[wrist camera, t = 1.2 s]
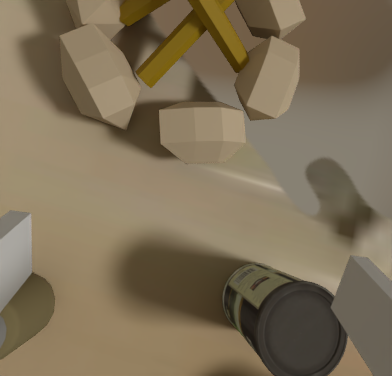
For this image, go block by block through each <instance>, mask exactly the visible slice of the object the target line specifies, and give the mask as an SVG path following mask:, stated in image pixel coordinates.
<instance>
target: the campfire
mask: <svg viewBox="0 0 392 376" xmlns="http://www.w3.org/2000/svg"><path fill="white" fill-rule="evenodd" d="M65 1H66V3H67V6H68V9H69V11H70V14H71V17H72V19H73V22H74V24H75V27H76V29H75V30H72V31H70V32H67V33H65V34H62V35H59V38H60V53H61V69H62V79H63V81H64V83H65V84H66V86H67V88H68V90H69V92H70V94H71V96H72V98H73V99H74V101H75V103H76V105H77V107H78V109H79V111H80V113H81V114H83V115H86V116H88V117H91V118H94V119H97V120H99V121H102V122H105V123H107V124H110V125H113V126H116V127H118V128H121V129H124V130H127V127H128V124H129V121H130V118H131V115H132V112H133V109H134V107H135V104H136V101H137V98H138V95H139V92H140V89H141V86H140V84H139V82H138V80H137V78H136V77H135V75H134V73H133V71H132V69H131V67H130V65H129V63H128V62H127V60H126V58H125V56H124V54H123V52H122V51H121V50H120V49H118V48H117V47H116V46H115V45H114V44H113V43H112V42H111V41H110V40H111V39H112V38H113V37H114V36H115V35H116V34H117V33H118V32H119V31H120V30H121V29H122V28H123V27H124V26H125V25H127V26H130V25H132V24H133V23H135V22H136V21H138V20H140V19H141V18H143V17H144V16H146V15H148V14H149V13H151V12H152V11H154V10H155V9H157V8H158V7H160V6H162V5H163V4H165V3H166V2H168V1H170V0H65ZM188 1H189V3H190V4H191V6H192V7H193V10H192V11H191V12H190V13H189V14H188V15H187V17H186V18H185V19H184V20H183V21H182V22H181V23H180V24H179V25H178V26H177V27H176V28H175V30H174V31H173V32H172V33H171V34H170V35H169V36H168V37H167V38H166V39H165V40H164V41H163V42H162V44H161V45H160V46H159V47H158V48H157V49H156V50H155V51H154V52H153V53H152V54H151V55H150V57H149V58H148V59H147V60H146V61H145V62H144V63H143V64H142V65H141V66H140V67H139V68H138V70H137V71H136V73H137V75H138V76H139V77H140V78H141V79H142V80H143V81H144V82H145V84H147V85H148V86H149V87H150V88H152V87H153V86H154V85H155V83H156V82H157V81H158V80H159V79H160V78H161V77H162V76H163V75H164V74H165V73H166V72H167V71H168V70H169V69H170V68H171V67H172V66H173V65H174V64H175V62H176V61H177V60H178V59H179V58H180V57H181V56H182V55H183V54H184V53H185V52H186V51H187V50H188V49H189V48H190V47H191V45H193V44H194V42H195V41H196V40H197V39H198V38H199V37H200V36H201V35H202V34H203V33H204V32H205V31H206V30H208V32H209V33H210V35H211V36H212V38H213V39H214V41H215V42H216V44H217V45H218V46H219V48H220V50H221V51H222V53H223V54H224V56H225V57H226V58H227V60H228V62H229V63H230V65H231V66H232V68H233V69H234V71H235V72H236V73H239V74H238V77H237V79H236V82H235V84H234V86H235V88H236V91H237V94H238V97H239V100H240V102H241V104H242V106H243V107H244V110H245V111H246V113H247V115H248V117H249V119H250V121H251V120H262V119H276V118H277V117H278V116H280V115H281V114H283V113H284V112H286V111H287V110H288V108H289V106H290V103H291V100H292V97H293V94H294V92H295V89H296V86H297V83H298V80H299V48H297V47H294V46H292V45H290V44H288V43H286V42H284V41H282V40H280V39H282V38H283V37H284V36H285V35H287V34H288V33H289V32H290V31H292V30H293V29H294V28H295V27H296V26H298V25H299V24H300V23H301V22H303V21H304V20H305V19H306V18H305V15H304V12H303V10H302V7H301V4H300V1H299V0H188ZM234 1H235V2H236V5H237V7H238V9H239V11H240V13H241V14H242V17H243V19H244V20H245V22H246V24H247V26H248V28H249V30H250V32H251V34H252V36H255V37H260V38H266V40H265V41H264V42H262V43H261V44H259V45H258V46H256V47H255V48H253V49H252V50H251V51H249V52H248V53H247V51H246V50H245V48H244V46H243V44H242V43H241V41H240V39H239V37H238V36H237V34H236V32H235V30H234V29H233V27H232V25H231V23H230V21H229V20H228V18H227V16H226V15H225V13H224V11H225V10H226V9H227V8H228V7H229V6H230V5H231V4H232V3H233V2H234ZM159 121H160V140H161V144H162V145H163V146H164V147H165V148H167V149H168V150H169V151H170V152H172V153H173V154H174V155H175V156H177V157H178V158H179V159H180V160H182V161H183V162H184V163H186V164H200V163H224V162H225V161H227V160H228V159H229V158H230V157H231V156H232V155H233V154H234V153H235V152H236V151H238V150H239V149H240V148H241V147H242V146H243V145H244V144H245V143H246V138H245V125H244V112H243V111H242V110H239V109H237V108H234V107H232V106H229V105H227V104H224V103H222V102H180V103H178V104H175V105H172V106H169V107H166V108H163V109H160V110H159Z"/></svg>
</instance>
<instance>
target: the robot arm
mask: <svg viewBox="0 0 392 376" xmlns="http://www.w3.org/2000/svg"><path fill="white" fill-rule="evenodd" d="M31 273H32V240H31V213H27V212H20V211H12V210H10V211H9V212H8V213H6V214H5V215H4V216H2V217H1V218H0V312H1V311H2V310H3V309H4V307H5V306H6V305H7V304H8V302H9V301H10V300H11V299H12V297H13V296H14V295H15V293H16V292H17V291H18V290H19V288H20V287H21V286H22V285H23V283H24V282H25V281H26V280H27V278H28V277H29V276H30V275H31ZM331 309H332V311H333V312H334V314H335V315H336V317H337V319H338V320H339V322H340V323H341V325H342V326H343V328H344V330H345V331H346V333H347V334H348V336H349V338H350V339H351V341H352V342H353V344H354V345H355V347H356V349H357V350H358V352H359V353H360V355H361V357H362V358H363V360H364V361H365V363H366V365H367V366H368V368H369V369H370V371H371V372H372V374H373V376H392V281H391V280H390V279H389V278H388V277H387V276H386V275H385V274H384V273H383V272H382V271H381V270H380V269H379V268H378V267H377V266H376V265H375V264H374V263H373V262H372V261H371V260H370V259H369V258H367V257H359V256H352V255H351V256H350V258H349V261H348V263H347V266H346V269H345V271H344V274H343V276H342V279H341V282H340V284H339V287H338V290H337V292H336V295H335V297H334V300H333V303H332V305H331Z"/></svg>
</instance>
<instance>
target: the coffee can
mask: <svg viewBox="0 0 392 376" xmlns="http://www.w3.org/2000/svg"><path fill="white" fill-rule="evenodd" d="M334 297H335V296H334V295H333V294H332V293H331V292H329V291H328V290H327V289H326V288H324V287H322V286H320V285H318V284H315V283H312V282H307V281H304V280H301V279H299V278H296V277H294V276H291V275H289V274H286V273H284V272H281V271H278V270H276V269H273V268H272V267H270V266H267V265H265V264H261V263H251V264H247V265H244V266H242V267H240V268H239V269H237V270H236V271H235V272H234V273H233V274H232V275H231V276H230V277H229V279H228V280H227V282H226V284H225V287H224V290H223V297H222V302H223V309H224V312H225V314H226V316H227V318H228V320H229V321H230V322H231V324H232V325H233V326H235V327H236V329H237V330H238V331H239V332H240V333H241V335H242V336H243V337H244V338H245V339H246V341H247V342H248V343H249V344H250V346H251V347H252V348H253V349H254V351H255V352H256V353H257V354H258V355H259V357H260V358H261V360H262V362H263V363H264V365H265V366H266V367H267V369H268V370H269V371H270V372H271V373H272V374H273V375H275V376H327V375H329V374H330V373H331V372H332V371H333V370H334V369H335V368H336V366H337V365H338V363H339V362H340V360H341V358H342V356H343V354H344V351H345V348H346V344H347V338H348V334H347V333H346V331H345V330H344V328H343V326H342V325H341V323H340V322H339V320H338V319H337V317H336V315H335V314H334V312H333V311H332V309H331V305H332V303H333V300H334Z"/></svg>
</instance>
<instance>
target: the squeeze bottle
mask: <svg viewBox="0 0 392 376" xmlns="http://www.w3.org/2000/svg"><path fill="white" fill-rule="evenodd" d="M54 304H55V297H54V293H53V290H52V287H51V285H50V284H49V283H48V282H47V281H46V279H44V278H43V277H40V276H38V275H36V274H34V273H31V275H30V276H29V277H28V278H27V280H26V281H25V282H24V283H23V285H22V286H21V287H20V288H19V290H18V291H17V292H16V293H15V295H14V296H13V297H12V299H11V300H10V301H9V302H8V304H7V305H6V306H5V307H4V309H3V310H2V311H1V312H0V359H3V358H4V357H6V356H7V355H8V354H10V353H11V352H13V351H14V350H15V349H17V348H18V347H19V346H21V345H22V344H24V343H25V342H26V341H28V340H29V339H31V338H32V337H33V336H35V335H36V334H37V333H38V332H40V331H41V330H42V329H43V328H44V327H45V326H46V325H47V324H48V322H49V320H50V318H51V317H52V315H53V313H54Z"/></svg>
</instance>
